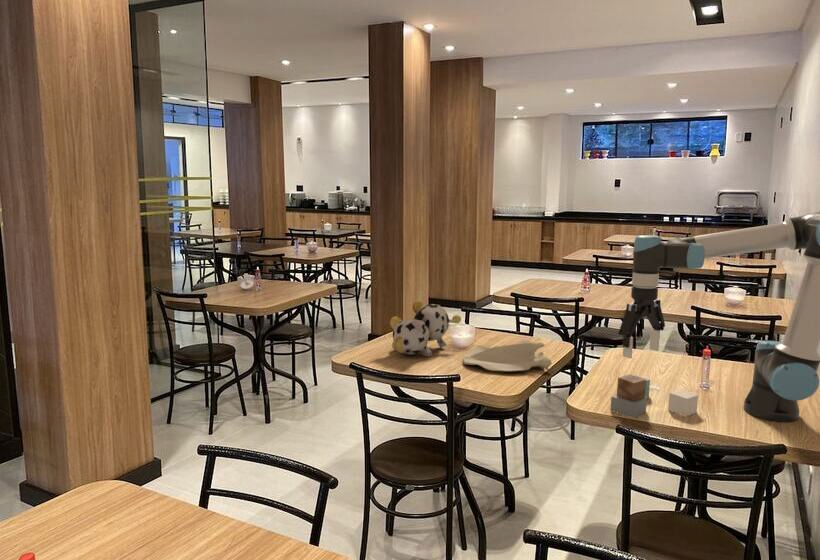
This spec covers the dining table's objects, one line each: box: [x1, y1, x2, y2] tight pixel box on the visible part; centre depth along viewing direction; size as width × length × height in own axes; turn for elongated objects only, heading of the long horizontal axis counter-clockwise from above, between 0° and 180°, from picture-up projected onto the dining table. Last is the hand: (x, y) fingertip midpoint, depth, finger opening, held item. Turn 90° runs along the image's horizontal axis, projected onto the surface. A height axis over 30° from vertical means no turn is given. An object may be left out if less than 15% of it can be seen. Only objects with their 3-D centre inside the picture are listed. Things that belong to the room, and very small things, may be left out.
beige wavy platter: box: [462, 339, 552, 373], centre depth 236 cm, size 36×21×11 cm, turn 55°
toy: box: [389, 299, 462, 357], centre depth 253 cm, size 21×33×20 cm
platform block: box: [609, 393, 648, 419], centre depth 191 cm, size 8×8×5 cm
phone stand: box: [649, 385, 661, 391], centre depth 215 cm, size 20×12×2 cm, turn 157°
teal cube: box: [633, 374, 651, 398], centre depth 205 cm, size 6×6×6 cm
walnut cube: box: [616, 374, 647, 401], centre depth 190 cm, size 6×6×6 cm
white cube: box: [667, 388, 699, 417], centre depth 191 cm, size 6×6×6 cm
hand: (640, 353), depth 187 cm, fingers open, 13 cm apart
